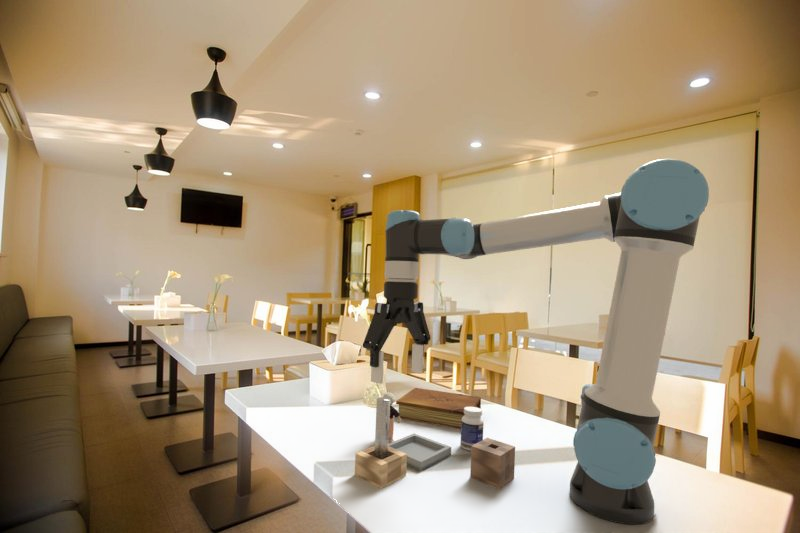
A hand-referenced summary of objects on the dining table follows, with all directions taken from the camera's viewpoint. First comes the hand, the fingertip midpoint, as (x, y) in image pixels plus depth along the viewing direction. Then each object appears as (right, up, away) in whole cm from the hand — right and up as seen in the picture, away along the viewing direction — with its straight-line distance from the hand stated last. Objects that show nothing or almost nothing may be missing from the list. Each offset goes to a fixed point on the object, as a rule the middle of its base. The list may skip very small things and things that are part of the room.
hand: (398, 377), depth 91 cm
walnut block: (+21, -23, 0) cm, 31 cm away
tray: (+5, -22, +11) cm, 25 cm away
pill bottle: (+19, -23, +17) cm, 34 cm away
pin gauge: (-4, -21, 0) cm, 21 cm away
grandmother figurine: (-3, -22, +19) cm, 29 cm away
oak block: (-4, -22, -1) cm, 22 cm away
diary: (+13, -24, +42) cm, 50 cm away
